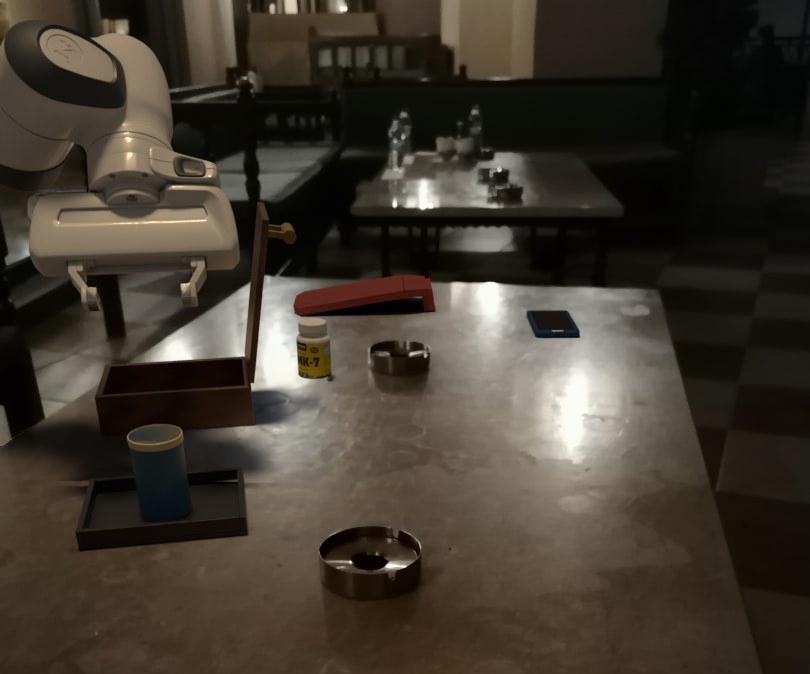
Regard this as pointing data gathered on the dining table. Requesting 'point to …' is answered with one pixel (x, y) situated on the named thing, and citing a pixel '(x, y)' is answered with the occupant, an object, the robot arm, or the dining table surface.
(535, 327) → the cell phone
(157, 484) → the canister
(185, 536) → the tray
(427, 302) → the red ramp
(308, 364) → the supplement bottle
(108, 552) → the dining table surface
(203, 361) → the chest
